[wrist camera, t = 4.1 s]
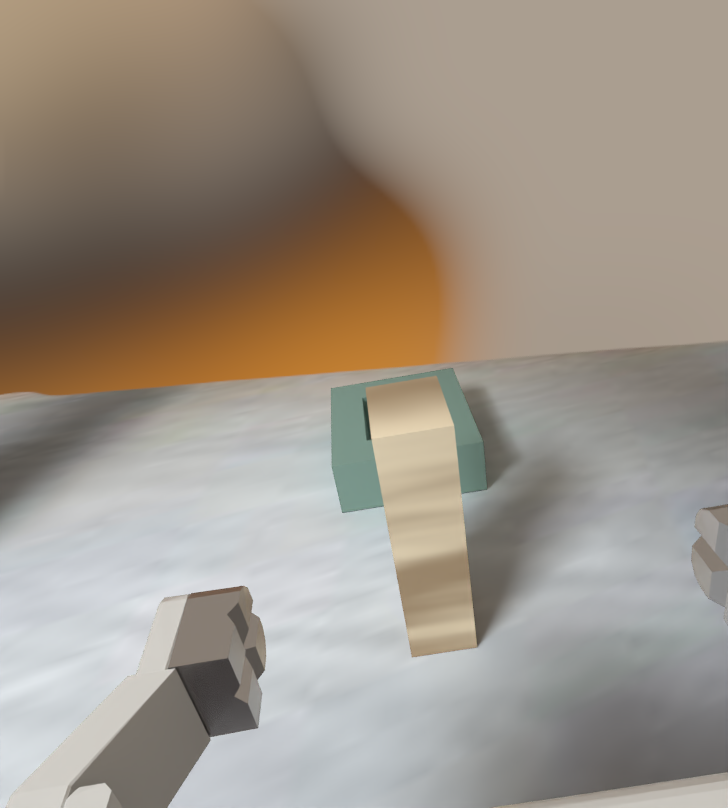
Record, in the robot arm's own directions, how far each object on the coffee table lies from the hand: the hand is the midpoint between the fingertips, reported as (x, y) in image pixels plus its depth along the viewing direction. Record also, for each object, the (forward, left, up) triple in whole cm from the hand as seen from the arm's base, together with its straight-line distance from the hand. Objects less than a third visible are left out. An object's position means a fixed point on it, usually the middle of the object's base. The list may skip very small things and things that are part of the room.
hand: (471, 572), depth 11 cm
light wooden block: (-10, +7, -15) cm, 20 cm away
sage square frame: (-21, +16, -15) cm, 31 cm away
